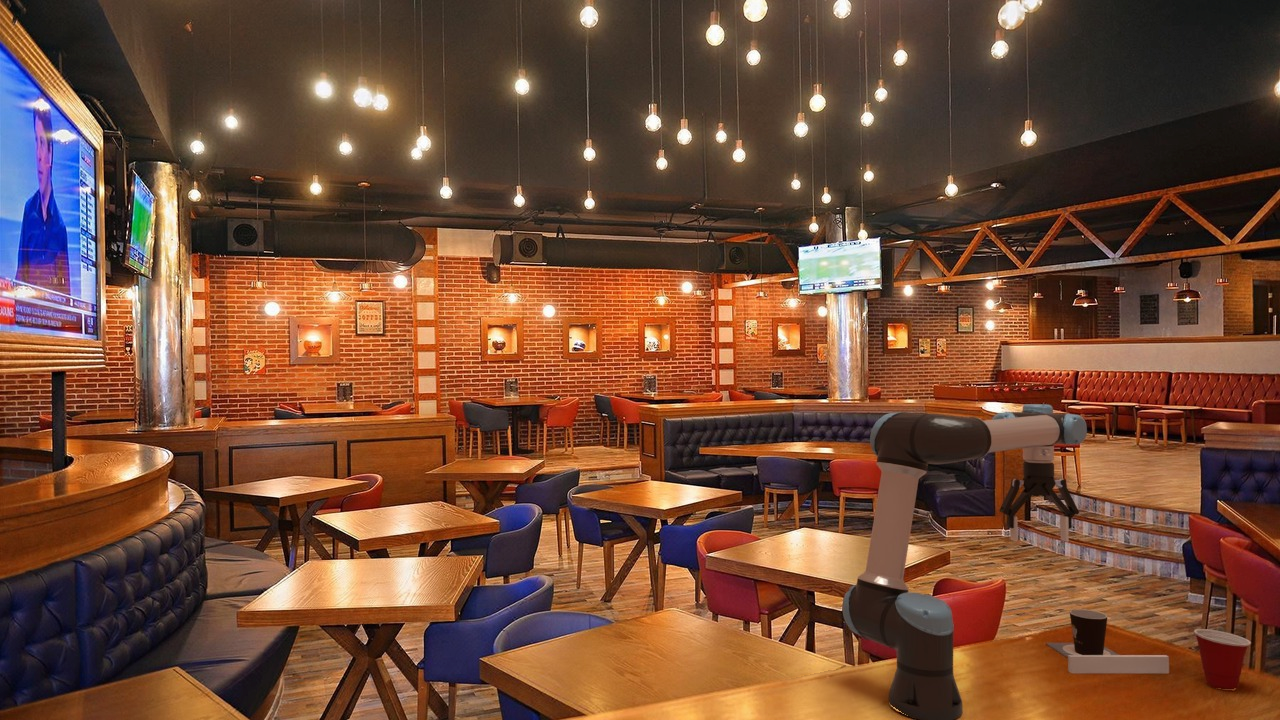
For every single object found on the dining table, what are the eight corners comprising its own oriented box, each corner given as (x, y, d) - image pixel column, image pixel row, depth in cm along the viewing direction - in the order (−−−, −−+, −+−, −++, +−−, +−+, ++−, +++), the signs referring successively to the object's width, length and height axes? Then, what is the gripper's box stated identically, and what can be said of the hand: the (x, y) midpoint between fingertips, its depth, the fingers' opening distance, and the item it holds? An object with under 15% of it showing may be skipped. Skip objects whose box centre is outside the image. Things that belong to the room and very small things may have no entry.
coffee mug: (1107, 660, 202) (1107, 620, 202) (1069, 654, 206) (1068, 615, 207) (1108, 647, 212) (1108, 609, 212) (1071, 642, 216) (1071, 605, 217)
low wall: (1071, 673, 194) (1070, 656, 195) (1068, 671, 196) (1068, 655, 196) (1169, 673, 195) (1168, 656, 195) (1165, 671, 196) (1165, 655, 196)
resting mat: (1074, 662, 202) (1074, 660, 202) (1046, 644, 216) (1046, 642, 216) (1129, 662, 202) (1129, 660, 202) (1097, 644, 216) (1097, 642, 216)
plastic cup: (1262, 697, 180) (1261, 643, 180) (1208, 693, 182) (1207, 640, 182) (1236, 679, 190) (1235, 629, 191) (1186, 676, 193) (1185, 626, 193)
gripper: (998, 462, 211) (999, 543, 211) (1092, 463, 211) (1093, 543, 211) (986, 459, 219) (986, 537, 218) (1077, 460, 219) (1078, 538, 218)
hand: (1039, 540), depth 215 cm, fingers open, 13 cm apart
